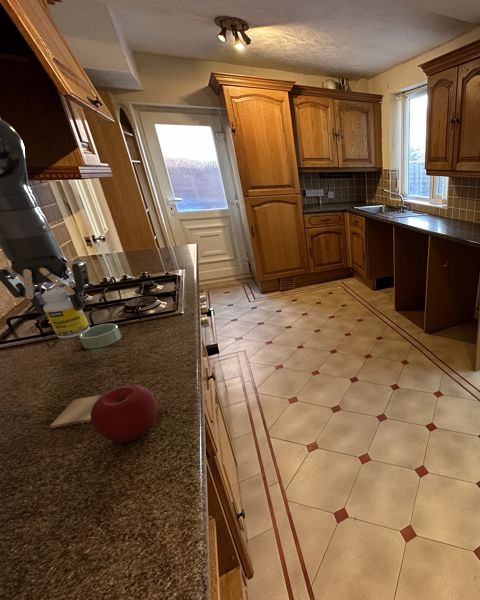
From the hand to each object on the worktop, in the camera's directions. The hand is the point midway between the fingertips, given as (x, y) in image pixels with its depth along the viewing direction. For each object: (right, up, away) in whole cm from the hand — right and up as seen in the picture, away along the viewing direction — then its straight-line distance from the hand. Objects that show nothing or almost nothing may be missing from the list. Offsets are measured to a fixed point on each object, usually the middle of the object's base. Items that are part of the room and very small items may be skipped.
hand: (63, 310), depth 69 cm
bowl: (-13, -11, +24) cm, 30 cm away
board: (+6, -22, +1) cm, 22 cm away
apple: (+20, -24, -5) cm, 32 cm away
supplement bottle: (0, -5, +2) cm, 6 cm away
